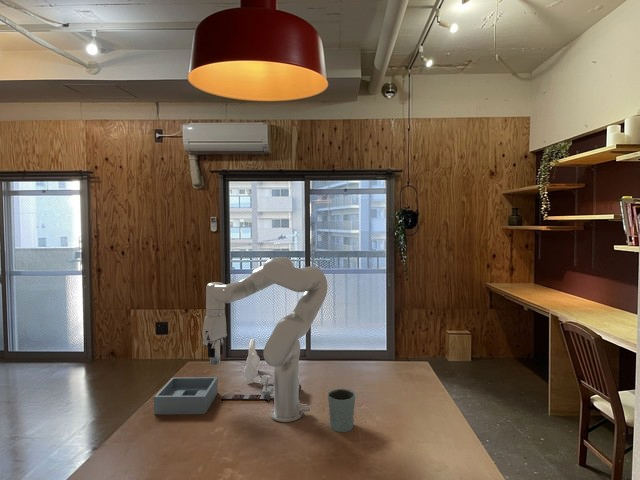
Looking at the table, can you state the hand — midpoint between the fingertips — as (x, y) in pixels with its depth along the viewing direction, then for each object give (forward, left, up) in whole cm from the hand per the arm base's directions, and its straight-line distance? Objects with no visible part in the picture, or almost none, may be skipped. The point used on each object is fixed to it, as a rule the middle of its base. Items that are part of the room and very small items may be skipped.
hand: (215, 355), depth 168 cm
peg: (0, 0, -3) cm, 3 cm away
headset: (-11, -28, -20) cm, 36 cm away
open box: (+11, +1, -20) cm, 23 cm away
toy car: (-26, -7, -20) cm, 34 cm away
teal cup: (-52, +21, -20) cm, 59 cm away
